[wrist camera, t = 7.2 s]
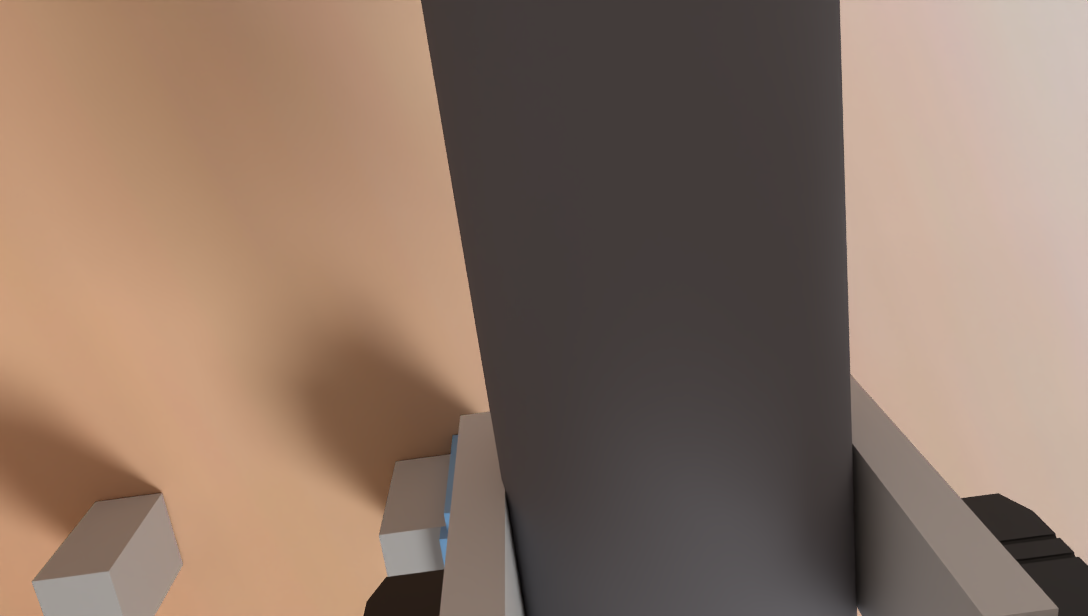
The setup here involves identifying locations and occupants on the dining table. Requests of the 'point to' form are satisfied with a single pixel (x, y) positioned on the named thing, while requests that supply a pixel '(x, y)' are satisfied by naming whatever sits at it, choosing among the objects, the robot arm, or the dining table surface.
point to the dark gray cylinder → (659, 296)
